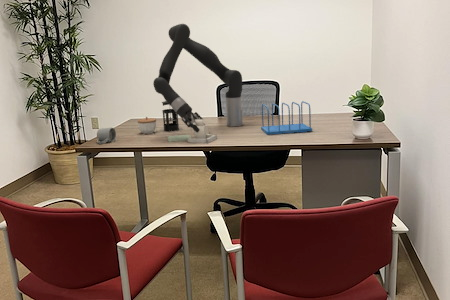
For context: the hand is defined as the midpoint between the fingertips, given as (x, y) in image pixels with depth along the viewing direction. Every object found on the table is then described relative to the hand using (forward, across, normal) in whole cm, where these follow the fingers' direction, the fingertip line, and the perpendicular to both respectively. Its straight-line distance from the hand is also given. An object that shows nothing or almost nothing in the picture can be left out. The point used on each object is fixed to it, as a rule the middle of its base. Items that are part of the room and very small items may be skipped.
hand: (202, 129), depth 234 cm
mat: (-6, +1, +14) cm, 16 cm away
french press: (-19, +24, +27) cm, 40 cm away
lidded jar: (-25, +12, +34) cm, 44 cm away
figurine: (+3, 0, +5) cm, 6 cm away
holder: (+4, 0, +4) cm, 6 cm away
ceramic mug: (-32, -14, +41) cm, 54 cm away
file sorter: (+30, +33, -21) cm, 49 cm away
